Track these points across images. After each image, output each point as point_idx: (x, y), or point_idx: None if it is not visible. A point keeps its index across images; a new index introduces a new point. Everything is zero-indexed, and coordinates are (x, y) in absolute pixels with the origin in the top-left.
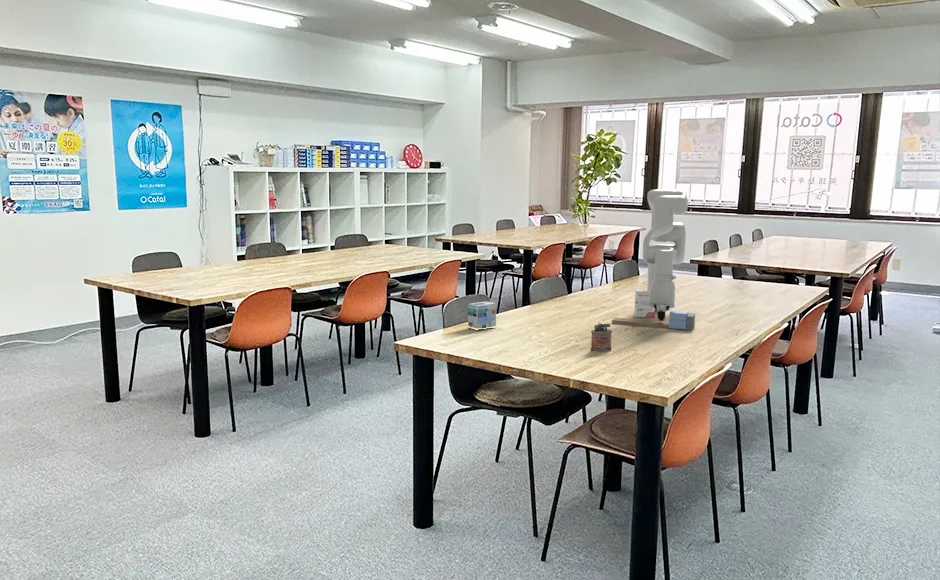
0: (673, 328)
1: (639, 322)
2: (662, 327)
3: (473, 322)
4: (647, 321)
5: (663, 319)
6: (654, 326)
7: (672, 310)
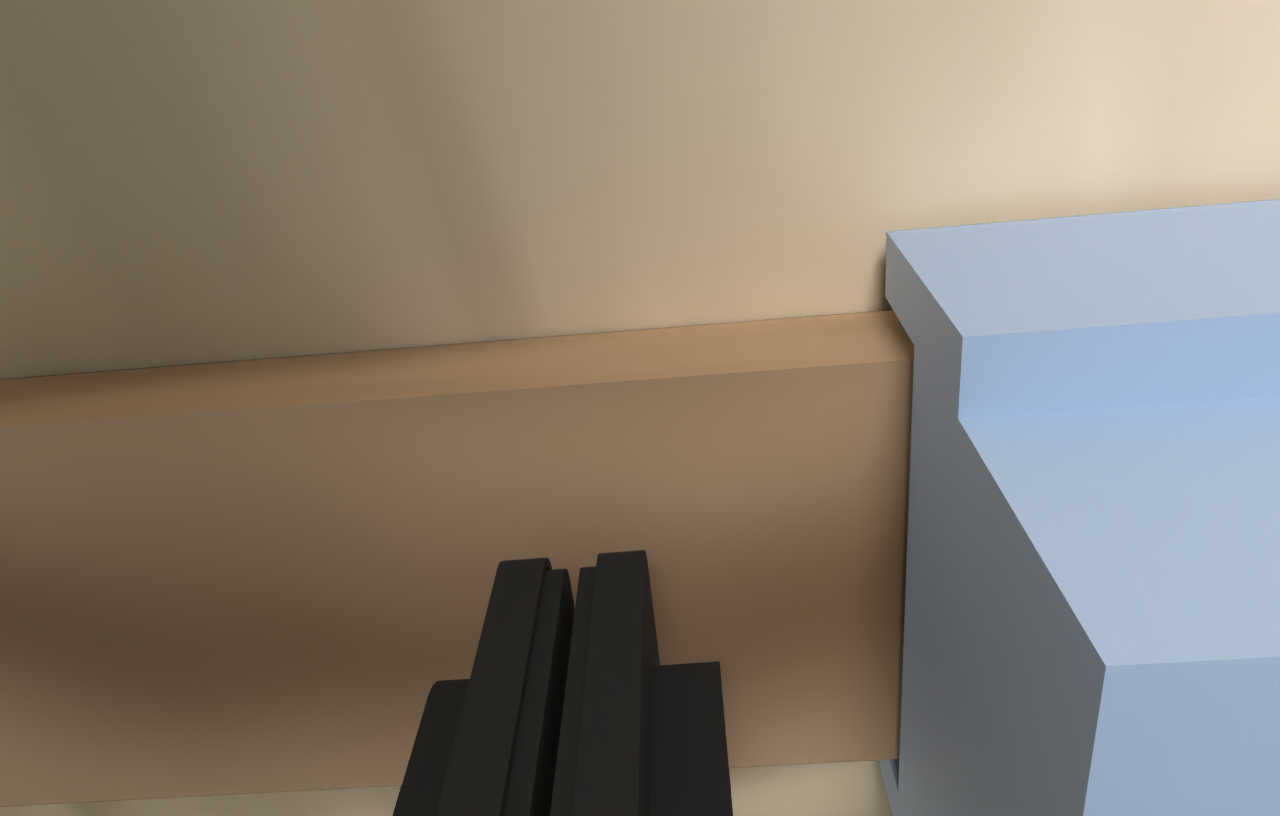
0: None
1: (27, 802)
2: None
3: None
4: (142, 608)
5: (644, 554)
6: None
7: (1159, 787)
